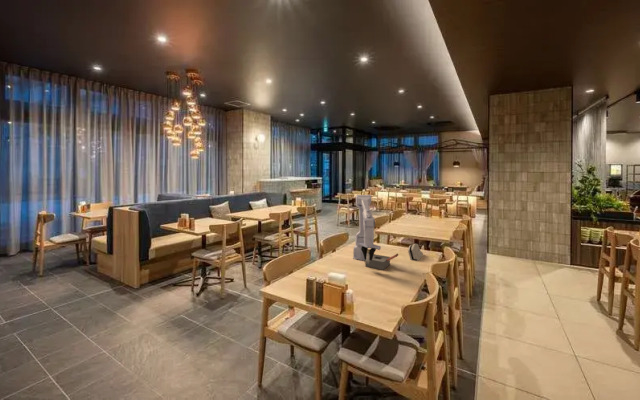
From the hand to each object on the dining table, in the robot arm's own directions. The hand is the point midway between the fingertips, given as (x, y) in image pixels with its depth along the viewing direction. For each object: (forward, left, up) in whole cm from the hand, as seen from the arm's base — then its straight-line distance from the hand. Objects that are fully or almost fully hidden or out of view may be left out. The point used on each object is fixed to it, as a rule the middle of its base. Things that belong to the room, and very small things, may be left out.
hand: (368, 259), depth 188 cm
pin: (0, 0, -2) cm, 2 cm away
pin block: (+2, +11, -7) cm, 13 cm away
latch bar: (+12, +11, 0) cm, 16 cm away
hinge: (+18, +41, -7) cm, 46 cm away
